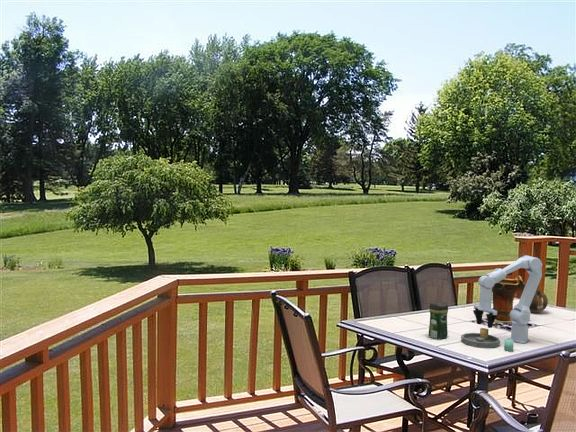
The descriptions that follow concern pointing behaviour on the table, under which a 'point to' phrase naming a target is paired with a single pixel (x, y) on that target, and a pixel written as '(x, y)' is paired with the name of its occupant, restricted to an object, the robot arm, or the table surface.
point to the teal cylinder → (508, 345)
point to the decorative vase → (505, 297)
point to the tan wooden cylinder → (484, 333)
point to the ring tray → (480, 340)
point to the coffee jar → (438, 320)
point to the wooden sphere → (538, 302)
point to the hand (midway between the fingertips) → (484, 325)
